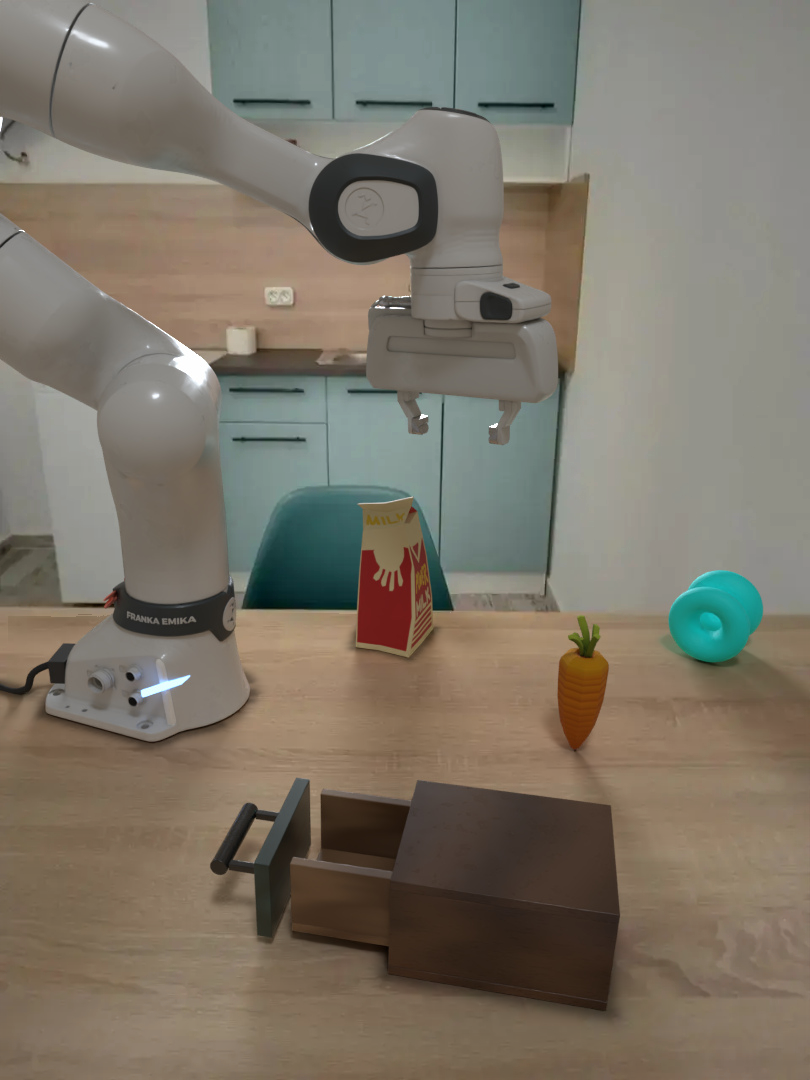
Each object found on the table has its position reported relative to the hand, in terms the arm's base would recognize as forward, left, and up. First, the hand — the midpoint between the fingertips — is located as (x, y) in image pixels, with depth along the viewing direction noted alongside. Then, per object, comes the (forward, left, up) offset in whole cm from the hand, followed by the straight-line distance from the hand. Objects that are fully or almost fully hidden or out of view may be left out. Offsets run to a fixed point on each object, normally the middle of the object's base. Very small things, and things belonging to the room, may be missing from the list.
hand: (457, 438), depth 85 cm
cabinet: (+9, -32, -31) cm, 45 cm away
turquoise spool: (+33, +21, -32) cm, 50 cm away
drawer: (-4, -32, -30) cm, 44 cm away
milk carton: (-9, +15, -32) cm, 36 cm away
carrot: (+15, -6, -32) cm, 35 cm away
